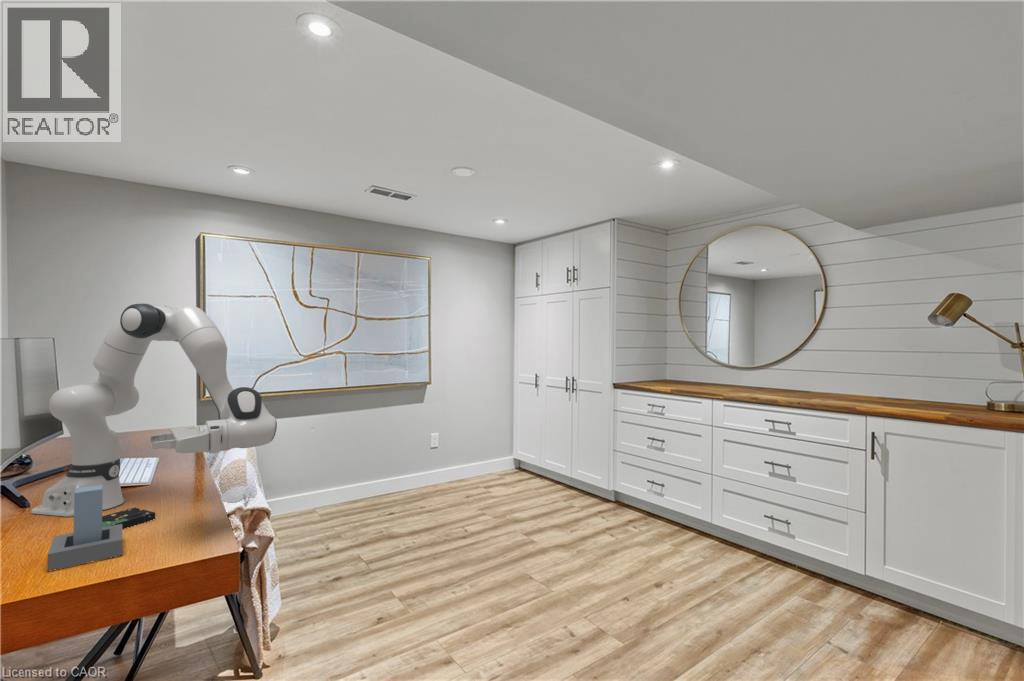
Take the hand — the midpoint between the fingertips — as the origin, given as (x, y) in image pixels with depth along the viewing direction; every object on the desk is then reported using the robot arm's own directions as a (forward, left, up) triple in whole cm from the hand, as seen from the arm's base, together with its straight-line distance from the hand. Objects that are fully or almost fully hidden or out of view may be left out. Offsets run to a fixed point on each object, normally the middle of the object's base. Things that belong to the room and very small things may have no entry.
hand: (151, 442), depth 123 cm
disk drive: (-18, +11, -27) cm, 34 cm away
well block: (-9, -8, -26) cm, 28 cm away
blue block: (-9, -8, -26) cm, 29 cm away
